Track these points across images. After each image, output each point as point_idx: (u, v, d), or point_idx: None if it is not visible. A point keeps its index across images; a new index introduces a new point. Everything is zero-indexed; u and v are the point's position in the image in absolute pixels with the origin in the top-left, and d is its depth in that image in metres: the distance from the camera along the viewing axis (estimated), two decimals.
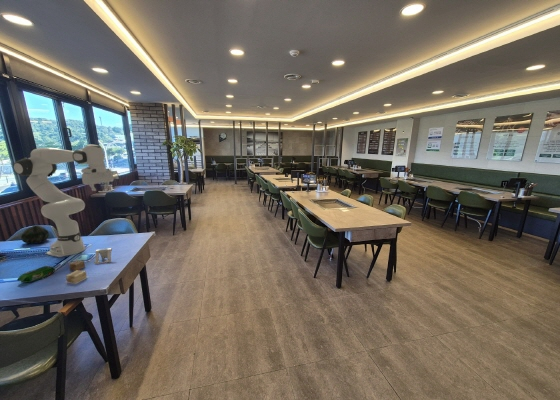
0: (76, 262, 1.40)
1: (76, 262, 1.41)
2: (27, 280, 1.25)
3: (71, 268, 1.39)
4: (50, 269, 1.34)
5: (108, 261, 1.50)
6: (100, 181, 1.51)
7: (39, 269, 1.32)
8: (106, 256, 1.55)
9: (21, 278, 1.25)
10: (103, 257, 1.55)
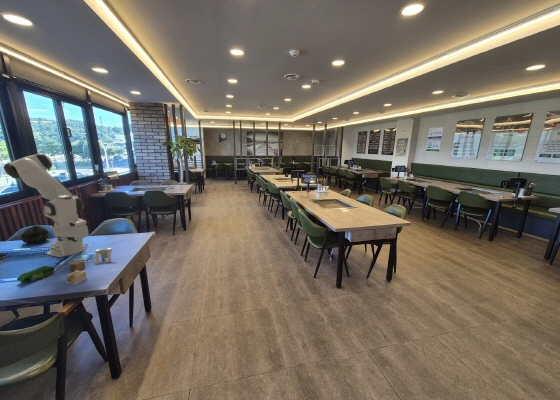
0: (76, 262, 1.40)
1: (76, 262, 1.41)
2: (27, 280, 1.25)
3: (71, 268, 1.39)
4: (50, 269, 1.35)
5: (108, 261, 1.50)
6: None
7: (39, 269, 1.32)
8: (106, 256, 1.55)
9: (21, 278, 1.25)
10: (103, 257, 1.55)
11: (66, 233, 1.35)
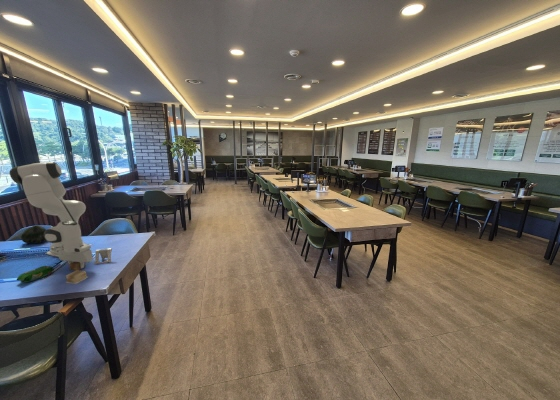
0: (76, 262, 1.40)
1: (76, 262, 1.41)
2: (27, 280, 1.25)
3: (71, 268, 1.39)
4: (49, 269, 1.35)
5: (108, 261, 1.50)
6: None
7: (38, 269, 1.32)
8: (106, 256, 1.55)
9: (21, 278, 1.25)
10: (103, 257, 1.55)
11: (71, 258, 1.38)
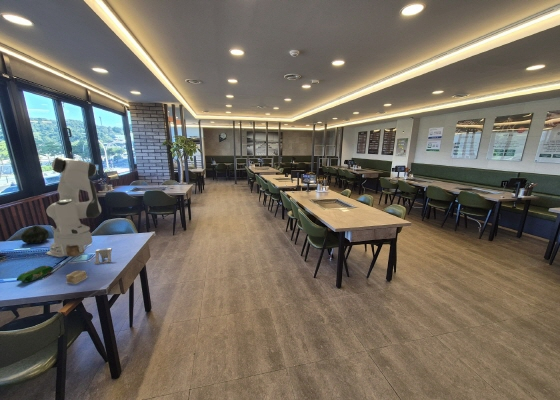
0: (73, 246, 1.26)
1: (74, 246, 1.26)
2: (28, 279, 1.26)
3: (68, 252, 1.25)
4: (49, 268, 1.35)
5: (108, 261, 1.50)
6: None
7: (38, 269, 1.32)
8: (106, 256, 1.55)
9: (21, 278, 1.25)
10: (103, 257, 1.55)
11: (68, 241, 1.24)
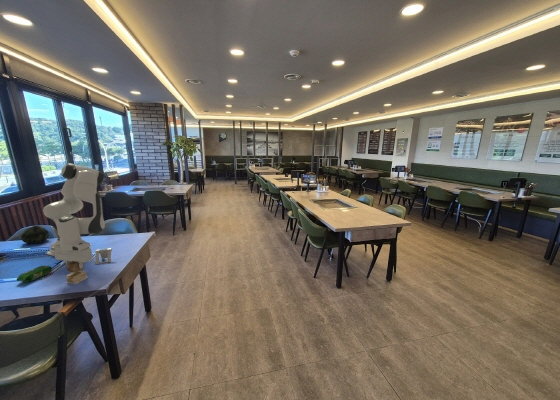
0: (74, 262, 1.27)
1: (74, 262, 1.28)
2: (28, 279, 1.26)
3: (69, 268, 1.26)
4: (48, 268, 1.36)
5: (108, 261, 1.50)
6: None
7: (37, 268, 1.32)
8: (106, 256, 1.55)
9: (21, 278, 1.25)
10: (103, 257, 1.55)
11: (69, 257, 1.25)
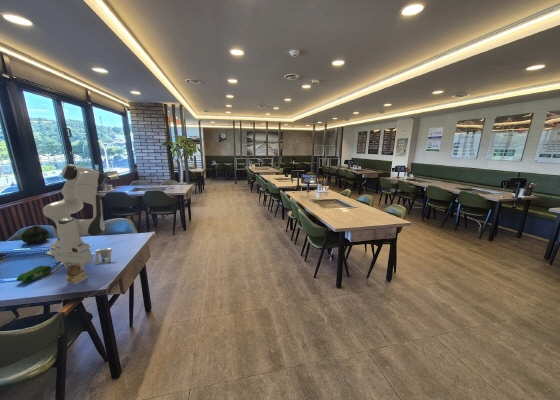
0: (74, 265, 1.27)
1: (74, 265, 1.28)
2: (29, 279, 1.26)
3: (68, 272, 1.26)
4: (48, 268, 1.36)
5: (108, 261, 1.50)
6: None
7: (37, 268, 1.32)
8: (106, 256, 1.55)
9: (21, 278, 1.25)
10: (103, 257, 1.55)
11: (68, 258, 1.25)
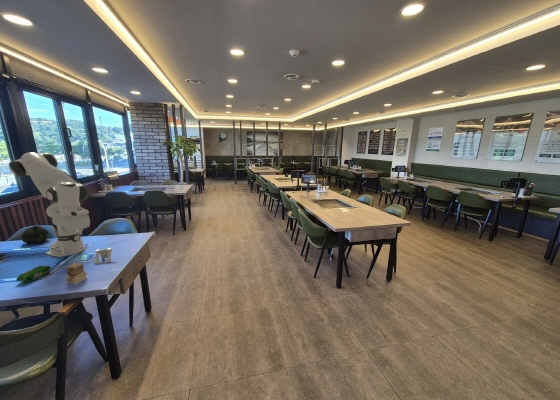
0: (74, 265, 1.27)
1: (74, 265, 1.28)
2: (29, 279, 1.26)
3: (68, 272, 1.26)
4: (47, 267, 1.36)
5: (108, 261, 1.50)
6: None
7: (36, 268, 1.32)
8: (106, 256, 1.55)
9: (22, 278, 1.25)
10: (103, 257, 1.55)
11: (66, 222, 1.28)
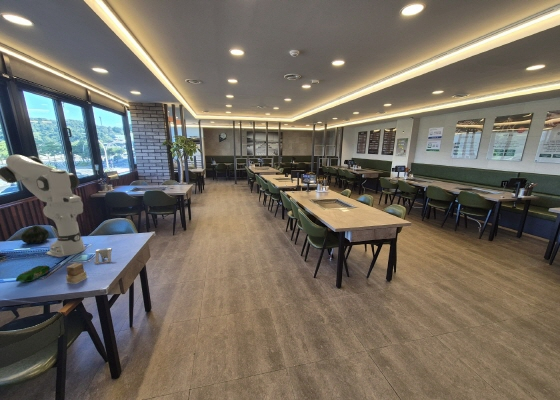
0: (74, 265, 1.27)
1: (74, 265, 1.28)
2: (29, 279, 1.26)
3: (68, 272, 1.26)
4: (47, 267, 1.36)
5: (108, 261, 1.50)
6: None
7: (35, 268, 1.32)
8: (106, 256, 1.55)
9: (21, 278, 1.25)
10: (103, 257, 1.55)
11: (60, 209, 1.30)
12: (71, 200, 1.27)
